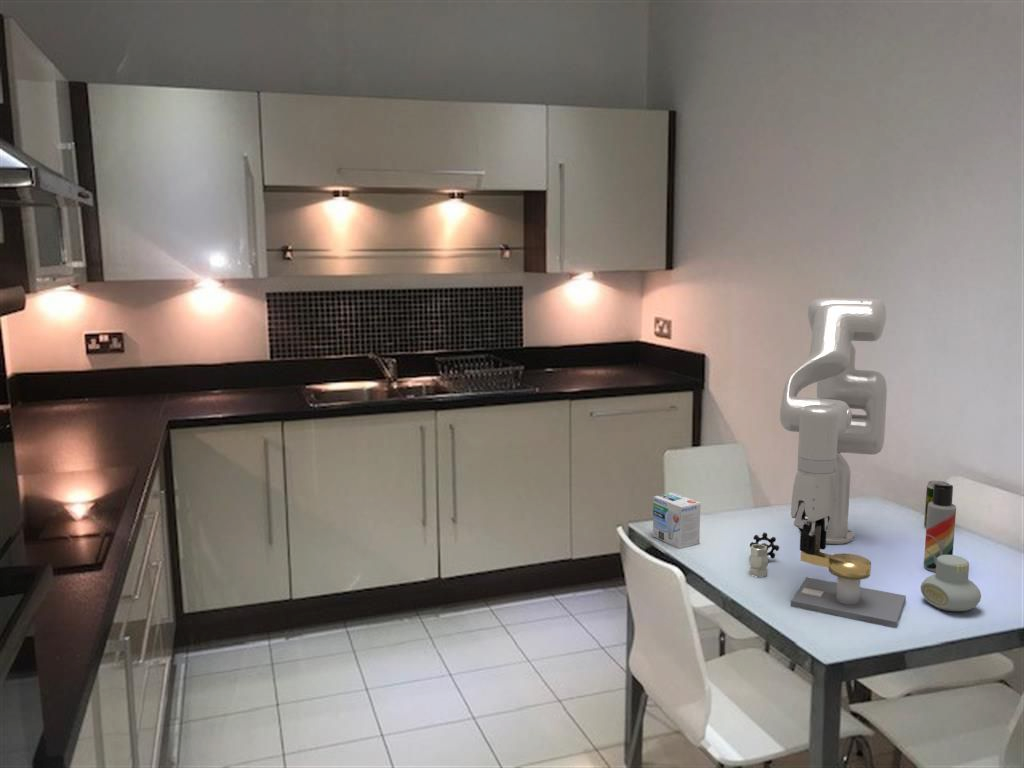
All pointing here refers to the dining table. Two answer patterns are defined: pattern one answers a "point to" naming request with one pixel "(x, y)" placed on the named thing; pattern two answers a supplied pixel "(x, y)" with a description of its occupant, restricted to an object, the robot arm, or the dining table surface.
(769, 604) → the dining table surface
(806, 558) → the brass knob with handle
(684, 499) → the light bulb box
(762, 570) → the valve
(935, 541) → the lotion bottle
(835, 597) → the post base
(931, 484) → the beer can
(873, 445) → the robot arm
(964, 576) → the air freshener
